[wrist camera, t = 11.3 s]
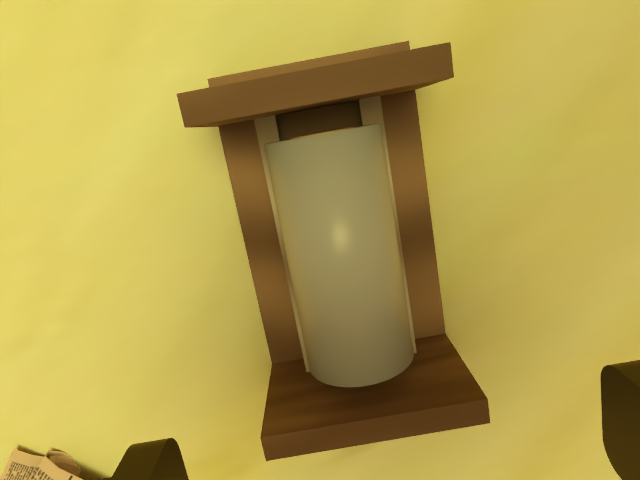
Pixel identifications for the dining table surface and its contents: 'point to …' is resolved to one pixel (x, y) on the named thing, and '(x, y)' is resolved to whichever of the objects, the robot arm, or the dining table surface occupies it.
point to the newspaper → (41, 467)
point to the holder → (411, 227)
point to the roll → (343, 253)
